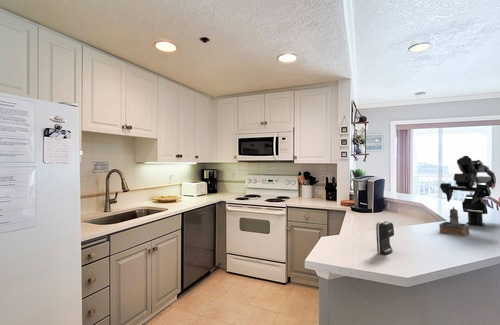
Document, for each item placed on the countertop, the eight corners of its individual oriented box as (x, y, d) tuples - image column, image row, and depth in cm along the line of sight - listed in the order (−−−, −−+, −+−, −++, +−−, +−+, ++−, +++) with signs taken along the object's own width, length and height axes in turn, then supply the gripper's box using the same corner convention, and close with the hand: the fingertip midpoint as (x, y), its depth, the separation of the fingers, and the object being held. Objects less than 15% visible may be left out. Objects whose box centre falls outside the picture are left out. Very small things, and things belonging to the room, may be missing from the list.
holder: (445, 229, 121) (445, 221, 121) (469, 232, 114) (468, 224, 114) (439, 232, 116) (439, 224, 116) (464, 236, 108) (464, 227, 108)
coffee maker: (387, 256, 87) (386, 224, 88) (376, 253, 90) (375, 222, 91) (396, 251, 91) (394, 221, 92) (385, 249, 95) (384, 219, 95)
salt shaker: (466, 234, 112) (465, 207, 112) (453, 234, 112) (452, 208, 112) (455, 230, 118) (454, 205, 118) (443, 230, 118) (442, 206, 118)
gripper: (440, 168, 130) (431, 190, 124) (487, 167, 114) (479, 192, 108) (448, 181, 134) (439, 204, 128) (494, 183, 117) (486, 208, 112)
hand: (459, 202), depth 119 cm, fingers open, 9 cm apart
